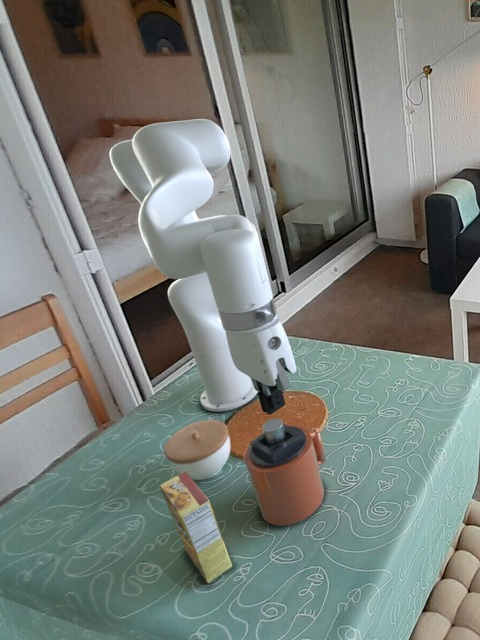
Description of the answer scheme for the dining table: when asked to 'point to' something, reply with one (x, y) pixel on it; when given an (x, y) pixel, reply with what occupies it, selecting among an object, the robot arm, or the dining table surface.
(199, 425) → the trinket box
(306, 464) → the jug
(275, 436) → the jug button
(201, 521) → the candy box
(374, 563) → the dining table surface
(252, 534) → the dining table surface
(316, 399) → the dining table surface
